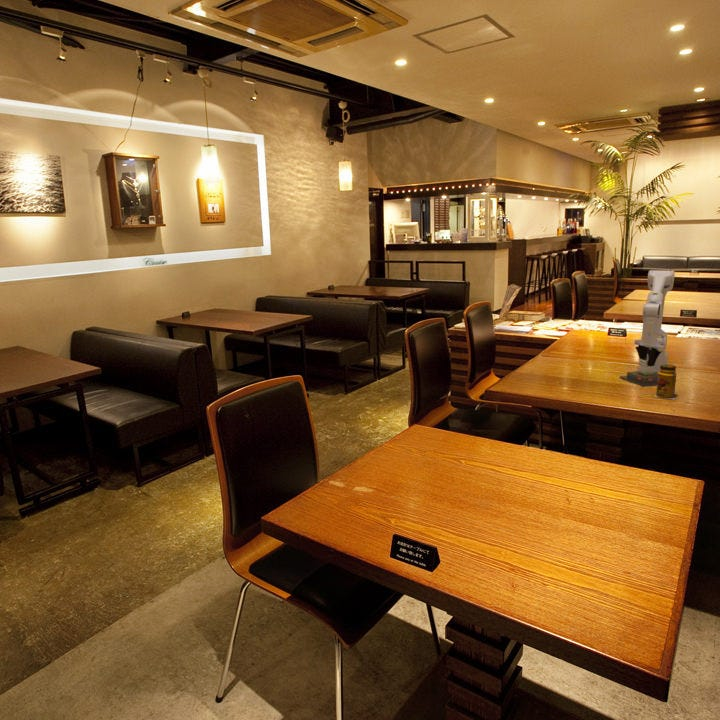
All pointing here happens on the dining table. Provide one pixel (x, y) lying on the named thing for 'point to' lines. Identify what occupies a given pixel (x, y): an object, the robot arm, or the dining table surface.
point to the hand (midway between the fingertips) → (646, 364)
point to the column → (645, 367)
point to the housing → (641, 379)
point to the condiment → (666, 382)
